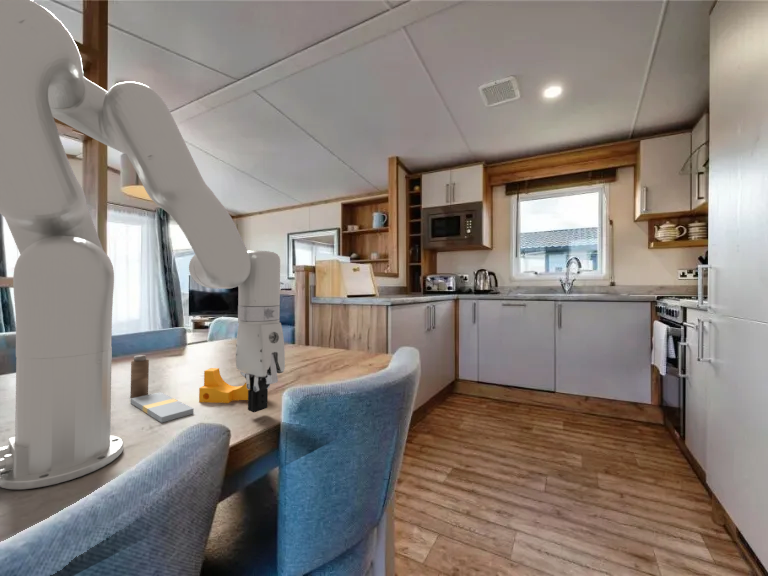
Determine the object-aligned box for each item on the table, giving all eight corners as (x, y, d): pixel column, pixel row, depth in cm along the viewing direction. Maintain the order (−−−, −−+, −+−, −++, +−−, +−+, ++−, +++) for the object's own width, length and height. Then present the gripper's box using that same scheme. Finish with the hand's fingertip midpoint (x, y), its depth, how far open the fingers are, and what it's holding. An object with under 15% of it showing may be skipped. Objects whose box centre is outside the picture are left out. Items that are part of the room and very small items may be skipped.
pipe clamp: (199, 402, 70) (199, 373, 70) (210, 396, 74) (210, 368, 74) (253, 404, 70) (254, 374, 70) (262, 397, 74) (262, 369, 74)
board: (161, 422, 59) (161, 417, 59) (130, 403, 69) (130, 398, 69) (193, 413, 64) (193, 408, 64) (160, 396, 73) (160, 392, 73)
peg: (133, 399, 71) (134, 358, 71) (128, 396, 73) (129, 356, 73) (150, 395, 74) (151, 355, 74) (145, 392, 76) (145, 354, 76)
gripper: (299, 316, 62) (298, 413, 62) (254, 311, 70) (253, 396, 70) (264, 319, 56) (263, 426, 56) (220, 313, 64) (218, 406, 64)
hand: (257, 409), depth 63 cm, fingers closed
